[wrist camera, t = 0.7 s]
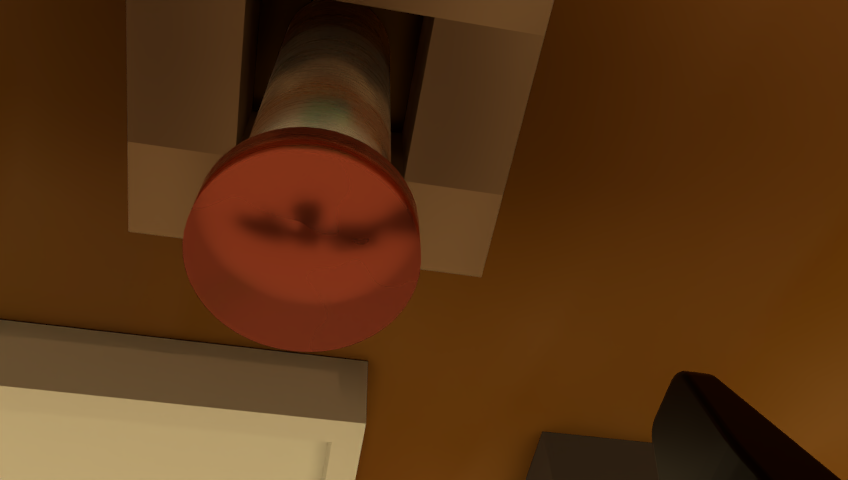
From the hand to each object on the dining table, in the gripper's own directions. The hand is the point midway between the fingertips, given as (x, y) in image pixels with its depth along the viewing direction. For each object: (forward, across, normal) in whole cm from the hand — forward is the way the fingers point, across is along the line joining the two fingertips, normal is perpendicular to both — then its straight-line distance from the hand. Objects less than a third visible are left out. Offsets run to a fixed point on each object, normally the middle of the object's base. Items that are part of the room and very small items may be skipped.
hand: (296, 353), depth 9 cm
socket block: (+11, 0, 0) cm, 11 cm away
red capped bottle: (+11, 0, 0) cm, 11 cm away
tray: (+11, +5, +14) cm, 18 cm away
